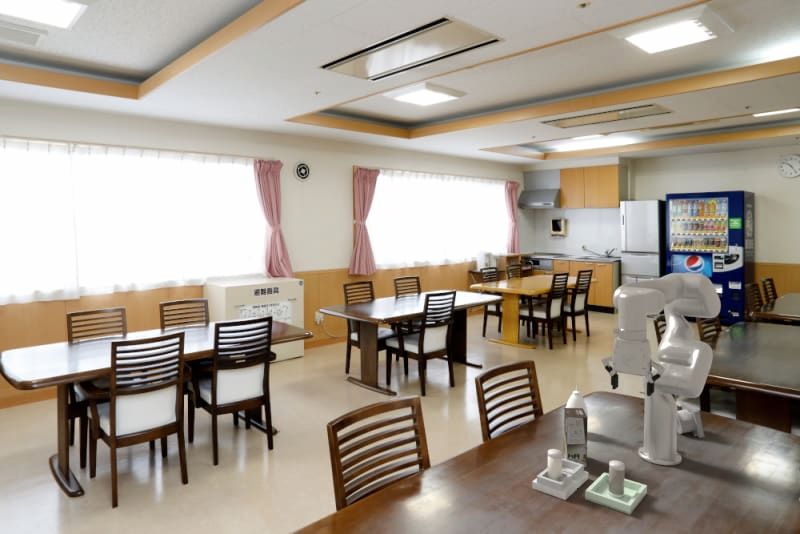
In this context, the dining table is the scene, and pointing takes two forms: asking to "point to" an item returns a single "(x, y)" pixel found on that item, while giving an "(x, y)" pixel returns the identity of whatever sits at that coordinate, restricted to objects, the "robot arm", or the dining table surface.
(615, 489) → the cylinder
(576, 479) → the fuse block
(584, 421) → the coffee box
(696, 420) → the voltmeter
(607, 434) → the dining table surface
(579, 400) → the sauce bottle
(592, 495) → the parts tray
